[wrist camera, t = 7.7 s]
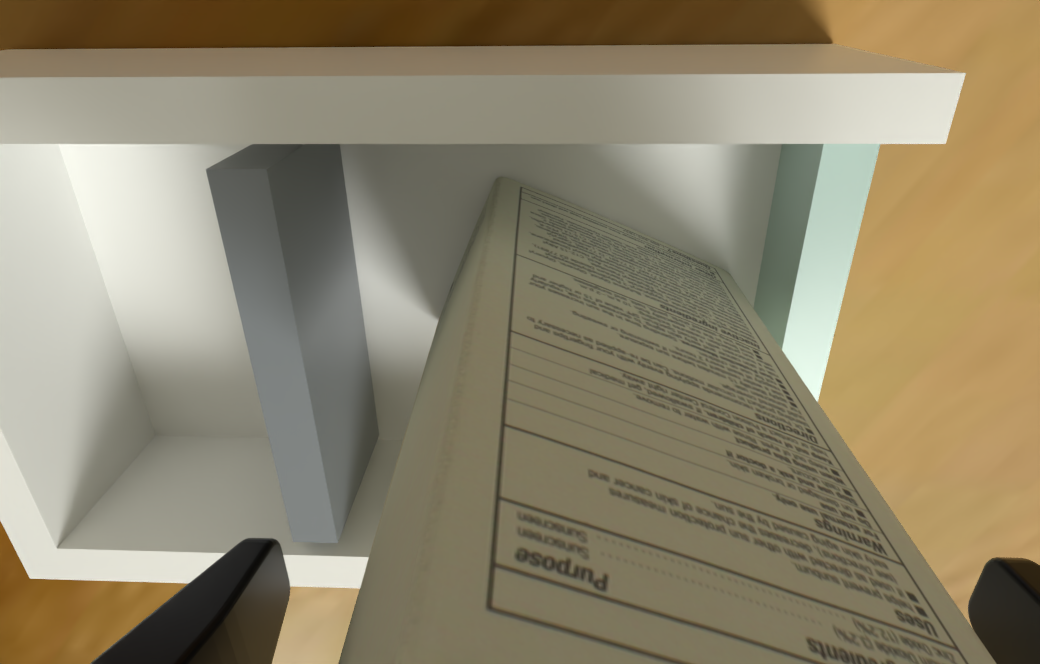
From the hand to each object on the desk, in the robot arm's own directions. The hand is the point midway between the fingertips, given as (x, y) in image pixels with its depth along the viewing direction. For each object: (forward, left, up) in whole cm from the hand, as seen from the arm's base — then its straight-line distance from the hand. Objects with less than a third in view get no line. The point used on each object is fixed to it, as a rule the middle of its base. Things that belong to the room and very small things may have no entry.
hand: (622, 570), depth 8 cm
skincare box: (0, 0, -9) cm, 9 cm away
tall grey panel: (-6, 0, -8) cm, 10 cm away
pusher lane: (-4, 0, -9) cm, 10 cm away
